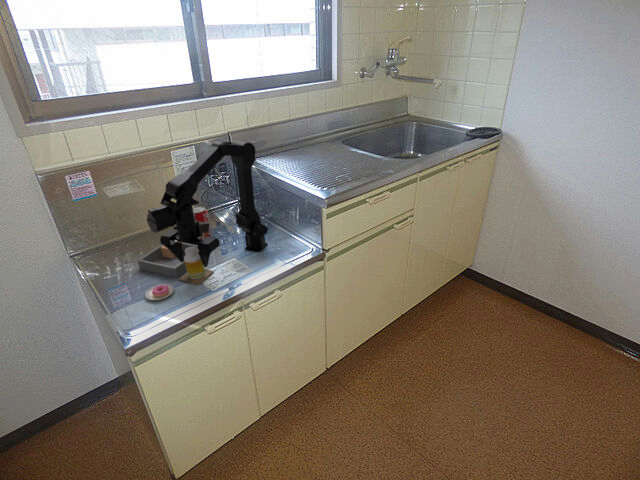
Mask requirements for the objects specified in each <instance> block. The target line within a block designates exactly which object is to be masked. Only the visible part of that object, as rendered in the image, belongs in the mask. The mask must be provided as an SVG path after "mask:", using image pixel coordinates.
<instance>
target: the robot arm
mask: <svg viewBox="0 0 640 480" xmlns="http://www.w3.org/2000/svg"><path fill="white" fill-rule="evenodd" d="M227 156H228V157H230V159H231V161H232V164H234V166H235V168H236V177H237V185H238V186H237V187H238V194H239V195H238V197H239V204H240V208H239V211H238V212H236V213H235V214H234V216H235V224H236V225H237V227H238V228H240V229H241V231H242V232H245V233H244V234H245V235H244V242H245V245H246V246H245V248H244V250H246V251H251V252H256V253H260V252H262V251H263V250H264V249H265V248H266V247H267V246H268V245H269V243H268V242H266V237H265V236H266V235H267V234H268V230H269V227H267V226H265V225H264V224H262V220H261V216H260V214H259V212H258V210H257V208H256V206H255V194H254V182H253V173H252V172H253V171H252V170H253V169H252V168H253V165H254V163H255V162H256V147H255V145H254V144H253V143H252V142H249V141H245V140H244V141H243V140H241V139H235V140H233V141H219V140H215V141H213V142H212V143H211V145H210V146H209V148H208V149H207V150H206V151H205V152H203V154H202V155H201V156H200V157H199V158H198V159H197V160H196V161H195V162H194V163H192V165H191V166H190V167H189V168H188V169H187V170H186V171H184V172H182V173H180V174H178V175H176V176H175V177H173V178H172V179H169V181H168V182H167V183H165V184H166V185H165V187H164V188H165V191H164V194H163V196H162V199H161V201H160V205H161V206H158V207H155V208H149V209H148V210H147V213H148V214H147V215H146V222H147V225H148V227H149V229H150V230H151V232H153V233H155V234H156V233H157V234H158V232H161V231H164V230H167V229H169V230H168V231H166V232H165V233H163V234H161V235H160V238H159V242H160V245H164V246H165V247H167V248H168V249H169V250H170V251H171V252H172V253H173V254H174V255H175V258H176V259H177V260H178V261H179V263H181V262H183V261H184V257H185V255H184V252H183V250H182V243H185V244H193V245H198V250H199V251H200V252H198V254H199V256H200V258H201V261H202V263H203V266H204V268H207V267H208V265H209V261H210V258H211V257H210V256H211V254H212V253H213V251H215V250H216V249H217V248H218V247H219V246H221V244H220V239H219V238H217V237H214V236H210V237H209V236H207V237H206V238H204V239H203V240H202V239H198V237H201V236H202V235H203V234H202V233H209V223H206V222H200V221H196V220H195V217H194V212H193V206H195V205H198V204H199V203H200V201H198V200H196V199H194V195H195V194H196V192H198V191H197V190H198V188H199V184H200V183H201V181H202V180H203V179H204V178H205V177H206V176H207V175H208V174H209V173H210V172H212V170H213V169H214V168H215V166H216V165H218V163H220V162H221V160H222V159H223V158H224V157H227ZM172 199H173V200H175V202H174V201H172ZM170 228H173V229H170Z"/></svg>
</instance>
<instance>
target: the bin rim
mask: <svg viewBox="0 0 640 480" xmlns="http://www.w3.org/2000/svg"><path fill="white" fill-rule="evenodd" d="M162 246H164V245H161V244H159V246H157V247H155V248H154V249H153V250H151V251H150V252H148V253H147V254H145V255H144V256H142V257H140V258H139V259H138V260H137V263H138V266H139V270H143V271H146V272H149V273H150V272H151V273H154V274H159V275H163V276H169V277H172V278H180V276H181V275H182V274H185V273H186V272H187V269H186V265H185V260H184V261H183V262H179V263H178V264H177V265H175V266H171V265H166V264H162V263H157V262H155V261H156V260H157V259H159V258H161V257H163V255H162V251H161V247H162ZM193 246H194V247H197V248H198V245H193V244H185V243H182V250H183V253H185V249H186V248H188V247H193ZM198 252H200V251H199V250H198Z"/></svg>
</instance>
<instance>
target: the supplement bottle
mask: <svg viewBox="0 0 640 480" xmlns="http://www.w3.org/2000/svg"><path fill="white" fill-rule="evenodd" d="M184 254H185V255H184V260H185V265H186V269H187V270H186V273H187V274H188V277H189V278H191V279H198V278H201V277H202V276H204V274H205V271H204V269H205V267H204V265H203V263H202V261H201V258H200V256H199V254H198V248H197V247H194V246H193V247H188V248H186V249H185V252H184Z"/></svg>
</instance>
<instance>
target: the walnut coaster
mask: <svg viewBox="0 0 640 480" xmlns="http://www.w3.org/2000/svg"><path fill="white" fill-rule="evenodd" d="M204 271H205V274H204V276H202V277H201V278H198V279H191V278H189V277H188V274H187V272H184V273H183V275H182V276H181V277H178V281H179V282H182V283H187V284H193V285H195V286H201V285H202V283H204V282H205V281H206V280H208V278H209V277H211V276H212V275H213V274H214V273H215V270H212V269H206V268H204Z"/></svg>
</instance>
